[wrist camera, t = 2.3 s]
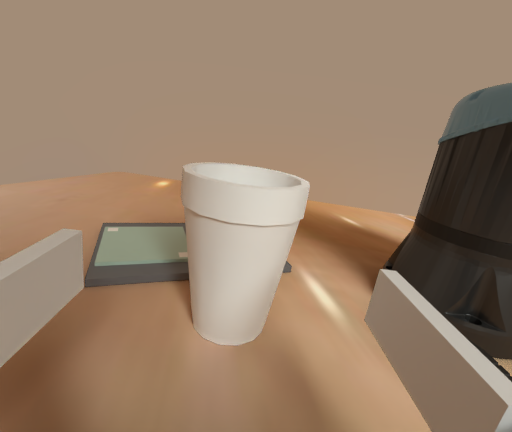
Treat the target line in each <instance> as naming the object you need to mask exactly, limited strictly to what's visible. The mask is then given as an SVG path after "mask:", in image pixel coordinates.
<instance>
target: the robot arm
mask: <svg viewBox="0 0 512 432" xmlns="http://www.w3.org/2000/svg"><path fill="white" fill-rule="evenodd" d="M438 144H439V148H438V151H437V154H436V157H435V161H434V164H433V167H432V170H431V173H430V176H429V179H428V183H427V185H426V189H425V192H424V195H423V198H422V201H421V204H420V207H419V210H418V214H417V216H416V219H415V222H414V225H413V228H412V229H411V231H410V233H409V234H408V235H407V236H406V238H405V239H404V240H403V241H402V243H401V244H400V245H399V247H398V248H397V249H396V250H395V252H394V253H393V254H392V256H391V257H390V258H389V260H388V261H387V262H386V263H385V265H384V266H383V269H380V271H379V274H378V277H377V280H376V284H375V287H374V290H373V293H372V297H371V300H370V303H369V306H368V310H367V313H366V316H365V319H364V320H365V322H366V324H367V325H368V327H369V329H370V330H371V332H372V334H373V335H374V337H375V338H376V340H377V342H378V343H379V345H380V347H381V348H382V350H383V352H384V353H385V355H386V357H387V358H388V360H389V362H390V363H391V365H392V367H393V368H394V370H395V371H396V373H397V375H398V376H399V378H400V380H401V381H402V383H403V385H404V386H405V388H406V390H407V391H408V393H409V395H410V396H411V398H412V400H413V401H414V403H415V405H416V406H417V408H418V409H419V411H420V413H421V414H422V416H423V418H424V419H425V421H426V423H427V424H428V426H429V428H430V429H431V431H432V432H512V377H511V376H510V374H509V373H508V372H507V371H506V370H505V369H504V368H503V367H502V366H501V365H498V362H497V361H496V360H494V359H493V358H492V357H496V358H502V359H512V83H507V84H502V85H497V86H493V87H489V88H485V89H482V90H479V91H476V92H473V93H471V94H469V95H467V96H466V97H464V98H463V99H461V100H460V101H459V102H458V103H457V104H456V106H455V107H454V109H453V111H452V113H451V116H450V118H449V121H448V123H447V126H446V128H445V131H444V133H443V136H442V137H441V138H440V139H439V141H438ZM83 288H84V276H83V243H82V231H80V230H73V229H65V228H63V229H61V230H59V231H57V232H56V233H54V234H52V235H50V236H48V237H46V238H44V239H42V240H41V241H39V242H37V243H35V244H33V245H31V246H29V247H28V248H26V249H24V250H22V251H20V252H18V253H16V254H14V255H13V256H11V257H9V258H7V259H5V260H3V261H1V262H0V368H1V367H2V366H3V365H4V364H5V363H6V362H7V361H8V360H9V359H10V358H11V357H12V356H13V355H14V354H15V353H16V352H17V351H18V350H19V349H20V348H22V347H23V346H24V345H25V344H26V343H27V342H28V341H29V340H30V339H31V338H32V337H33V336H34V335H35V334H36V333H37V332H38V331H39V330H40V329H41V328H42V327H43V326H44V325H46V324H47V323H48V322H49V321H50V320H51V319H52V318H53V317H54V316H55V315H56V314H57V313H58V312H59V311H60V310H61V309H62V308H63V307H64V306H65V305H66V304H67V303H68V302H69V301H71V300H72V299H73V298H74V297H75V296H76V295H77V294H78V293H79V292H80V291H81V290H82V289H83Z"/></svg>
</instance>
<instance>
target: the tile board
mask: <svg viewBox="0 0 512 432" xmlns="http://www.w3.org/2000/svg"><path fill="white" fill-rule="evenodd" d="M291 267H292V266H291V265H290V264H289V263H288V262H287V261H286V263H285V266H284V269H283V272H282V273H284V272H291ZM188 279H189V268H188V253H187V239H186V225H185V223H103V225H102V228H101V231H100V234H99V237H98V240H97V243H96V246H95V250H94V253H93V256H92V259H91V262H90V265H89V268H88V271H87V274H86V277H85V287H91V286H105V285H119V284H133V283H147V282H160V281H174V280H188Z"/></svg>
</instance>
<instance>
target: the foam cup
mask: <svg viewBox="0 0 512 432" xmlns="http://www.w3.org/2000/svg"><path fill="white" fill-rule="evenodd" d="M309 188H310V186H309V182H308V181H306V180H304V179H302V178H300V177H297V176H294V175H291V174H287V173H283V172H280V171H276V170H271V169H265V168H260V167H254V166H246V165H239V164H228V163H212V162H208V163H191V164H188V165H184V166H183V171H182V187H181V200H182V204H183V206H184V211H185V225H186V239H187V253H188V268H189V282H190V296H191V310H192V319H193V326H194V329H195V330H196V331H197V332H198V333H199V334H200V335H201V336H202V337H203V338H204V339H206V340H209V341H211V342H214V343H216V344H219V345H235V346H238V345H241V344H244V343H247V342H250V341H253V340H254V339H255V338H256V337H257V336H258V335H259V334H260V333H261V332H262V328H263V327H264V325H265V322H266V319H267V316H268V313H269V310H270V307H271V304H272V301H273V298H274V295H275V292H276V289H277V286H278V283H279V281H280V278H281V275H282V272H283V269H284V266H285V263H286V260H287V257H288V254H289V251H290V248H291V245H292V242H293V239H294V236H295V233H296V230H297V227H298V224H299V221H300V220H301V219H303V218H304V213H305V208H306V203H307V198H308V193H309Z"/></svg>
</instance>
